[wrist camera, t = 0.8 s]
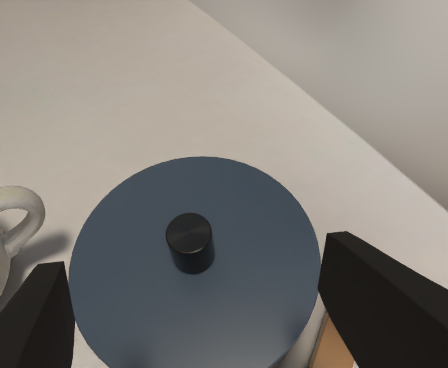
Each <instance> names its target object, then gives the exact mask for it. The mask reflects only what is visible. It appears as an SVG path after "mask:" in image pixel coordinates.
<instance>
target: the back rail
mask: <svg viewBox="0 0 448 368" xmlns="http://www.w3.org/2000/svg"><path fill="white" fill-rule="evenodd" d="M353 363H354V359H353V357H352V355H351V353H350V352H349V350H348V348H347V347H346V345H345V343H344V342H343V340H342V338H341V337H340V335H339V333H338V331H337V330H336V328H335V326H334V324H333V323H332V321H331V319H330V317H329V315H328V312H327V310H326V313H325V317H324V320H323V323H322V326H321V329H320V332H319V335H318V338H317V341H316V344H315V347H314V350H313V354H312V357H311V360H310V363H309V366H308V368H352V367H353Z"/></svg>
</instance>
